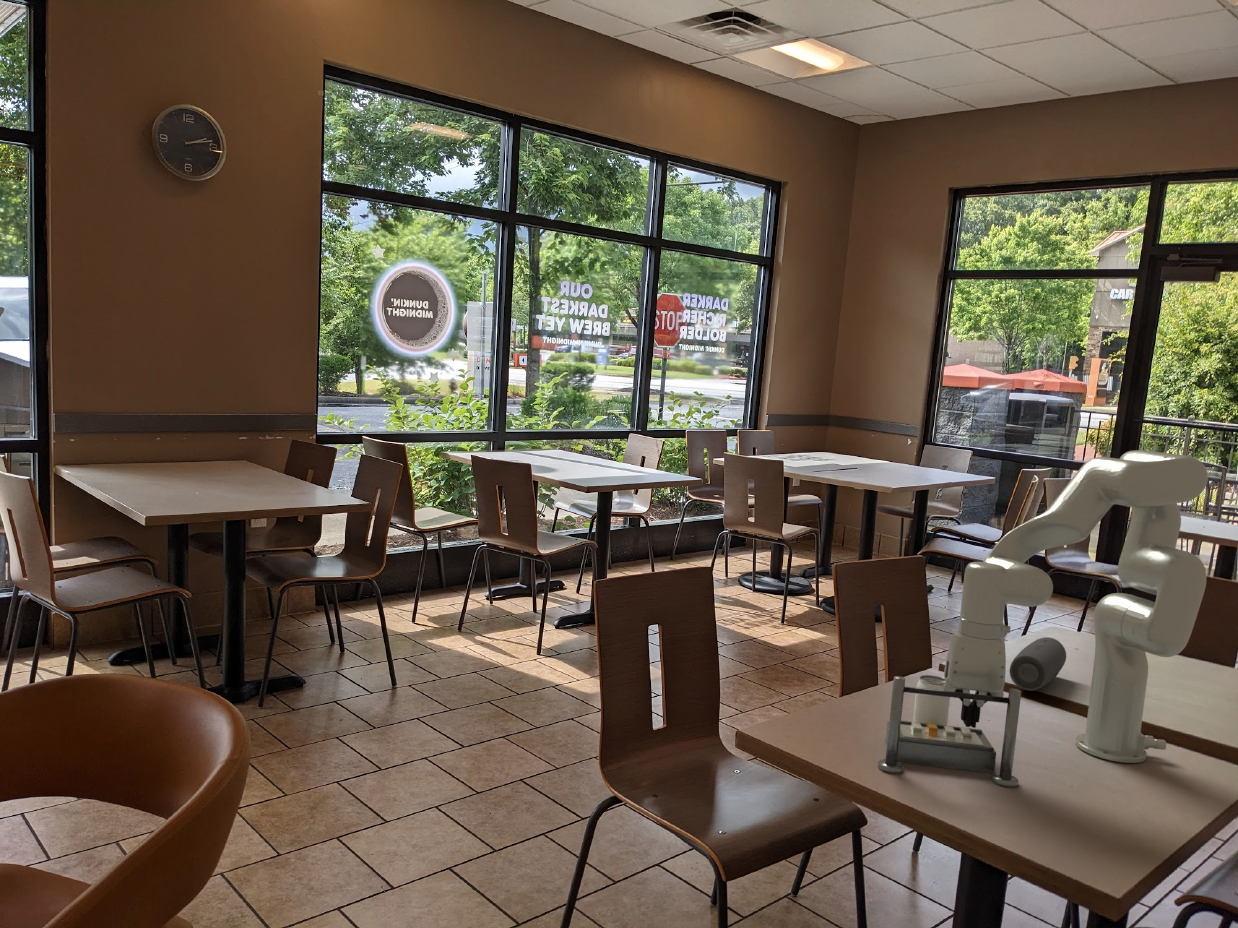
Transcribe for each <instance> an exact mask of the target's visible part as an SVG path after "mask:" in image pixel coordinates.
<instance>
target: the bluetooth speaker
mask: <svg viewBox="0 0 1238 928" xmlns="http://www.w3.org/2000/svg"><path fill="white" fill-rule="evenodd" d="M1066 660H1067V651H1066V649H1065V646H1064V645H1063V644H1062V643H1061V642H1060V641H1059V640H1057V639H1056V638H1053V637H1048V636H1047V637H1040V638H1038V639H1036V640H1034V641H1033V642H1031V643H1030V644H1029V643H1028V644H1027V645H1026V646H1025V647H1023V648H1022V650H1021V651H1020V652H1019V653H1017V655H1015V657H1014V658H1013V660H1012V661H1011V663H1010V667H1009V676H1010V679H1011V681H1012V682H1013V684H1014V685H1016V686H1017V687H1018V688H1020V689H1022V690H1025V691H1030V692H1031V691H1032V692H1033V691H1038V690H1037V689H1039V690H1041V689H1042V688H1043V687H1045V686H1046V685H1048V684H1049V683H1050V682H1052V681H1053V680H1054V679H1055V678H1056V677H1057V676H1058V675H1059V673H1060V672H1061V670H1062V669H1063V667H1064V666H1065V663H1066ZM1040 688H1041V689H1040Z"/></svg>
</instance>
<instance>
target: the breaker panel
mask: <svg viewBox="0 0 1238 928" xmlns="http://www.w3.org/2000/svg"><path fill="white" fill-rule="evenodd" d="M885 729H886V731H885V740H884V741H886V742H885V744H886V746H887V740H888V730H889V721H886V728H885ZM996 758H997V751H996V750H995V748H994V747H993V745H992V743H990V741H989V739H988V738H987V736H986V735H985V733H984V732H983V730H982V729H979V728H972V727H963V726H962V727H961V726H951V725H947V726H944V725H936V724H935V723H930V722H926V723H918V722H913V721H907V720H901V726H900V736H899V746H898V755H897V762H899V763H900V762H902V763H903V764H910V765H920V766H927V767H935V768H942V767H943V769H952V770H959V771H970V772H976V773H978V772H979V773H987V774H994V773H995V768H996V767H995V766H996ZM902 763H901V764H902Z"/></svg>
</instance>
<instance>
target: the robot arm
mask: <svg viewBox="0 0 1238 928" xmlns="http://www.w3.org/2000/svg"><path fill="white" fill-rule="evenodd" d="M1208 480H1209V474H1208V470H1207V468H1206V466H1205V464H1204V463H1203V462H1202V461H1201V460H1199V459H1198V458H1196V457H1194V456H1190V455H1185V454H1177V453H1170V452H1169V453H1168V452H1161V451H1154V450H1147V449H1146V450H1144V449H1140V450H1139V449H1138V450H1137V449H1136V450H1129V451H1126V452H1125V453H1123V454H1122V455H1121V456H1120V457H1119V458H1117V457H1116V458H1115V457H1107V456H1106V457H1105V456H1098V457H1093V458H1090V459H1089V460H1087V461H1086V462H1085V463H1083V465H1081V467H1080V468H1079V469H1078V471H1076V473H1075V474H1074V475H1073V477H1072V478H1071V479H1070V480H1069V482H1068V483H1067V484H1066V486H1064V488H1063V489H1062V490H1061V492H1060V493H1059V495H1057V497H1056V498H1055V499H1054V500H1053V502H1052V503H1051V505H1050V506H1049V507H1048V508H1047V509H1046V510H1045V511H1044V512H1043V513H1041V514H1039V515H1037V516H1034V517H1032V518H1031V519H1029V520H1027V521H1025V522H1023V523H1022V524H1020V525H1018V526H1016V527H1014V528H1013V529H1012V530H1010V531H1009V532H1007V533H1006V534H1005V535H1004V536H1002V537H1001V539H999V541H997V543H996V544H995V545H994V546H993V547H992V549H991V550H990V551H989V553H988V554H987V555H986V557H985V558H984V560H983V561H972V562H969V563H968V564H967V565H966V567H965V569H964V576H963V577H964V578H963V587H962V593H961V594H962V596H961V605H960V615H959V621H958V630H957V631H953V633H952V635H951V638H950V642H949V646H948V651H947V655H946V659H945V664H944V670H943V673H944V674H943V675H944V676H943V678H945V679H946V680H945V682H944V685H943V689H944V690H945V691H951V692H960V693H969V694H971V692H970V691H974V694H979V695H988V696H997V697H1005V696H1004V688H1005V682H1006V674H1007V673H1006V671H1007V670H1006V668H1007V667H1006V665H1007V664H1006V663H1007V659H1006V658H1007V656H1006V655H1007V654H1006V642H1005V639H1004V638H1003V636H1004V634H1010V633H1011V626H1010V625H1006V624H1005V623H1004V617H1005V610H1006V609H1005V607H1006V605H1008V604H1009V605H1013V606H1014V605H1016V606H1021V607H1028V608H1030V607H1031V608H1033V607H1038V606H1041V605H1043V604H1045V603H1046V602H1047V601H1049V599H1050V598H1051V596H1052V594H1053V591H1054V584H1053V580H1052V579H1051V576H1049V574H1048V573H1047V572H1045V571H1044V570H1043V569H1041V568H1039V567H1036V566H1033V565H1031V564H1028V563H1026V561H1029V559H1030V558H1032V557H1033V556H1035V555H1037V554H1038V553H1040V552H1043V551H1045V550H1049V549H1053V548H1059V547H1063V546H1069V545H1073V544H1076V543H1080V542H1082V541H1084V540H1086V539H1087V538H1088V537H1089V535H1090V534H1091V532H1092V531H1093V530H1094V529H1095V528H1096V527H1097V525H1098V524H1099V522H1100V521H1101V520H1102V519H1103V517H1104V516H1105V515H1106V514H1107V512H1109V510H1110V509H1111V507H1113V506H1114V505H1119V506H1124V507H1129V508H1131V518H1130V519H1131V520H1130V522H1129V528H1128V531H1127V534H1126V537H1125V541H1124V544H1123V547H1122V550H1121V554H1120V557H1119V560H1118V565H1117V576H1118V578H1119V580H1120V581H1121V582H1122V583H1123V584H1125V585H1126V586H1128V587H1130V588H1133V589H1136V590H1139V591H1141V592H1145V593H1147V594H1151V595H1155V596H1156V598H1155V601H1152V600H1149V599H1146V598H1143V597H1139V596H1136V595H1134V594H1128V593H1123V592H1115V593H1110V594H1109V593H1108V594H1107V595H1105V596H1104V597H1102V598H1101V599H1100V600H1099V601H1098V602H1097V604H1096V605H1095V609H1094V612H1093V627H1094V636H1095V637H1094V639H1095V640H1094V641H1095V648H1094V649H1095V650H1094V661H1093V668H1092V676H1091V677H1092V678H1091V685H1090V693H1089V701H1088V709H1087V717H1086V726H1085V727H1086V728H1085V732H1084V733H1081V734H1078V735H1077V736H1076V737H1075V745H1076V746H1077V747H1078V748H1079V749H1080V750H1081V751H1083V752H1084V753H1087V754H1089V755H1092V756H1094V757H1097V758H1100V759H1104V760H1107V761H1110V762H1111V761H1112V762H1117V763H1126V764H1138V763H1142V762H1144V761H1146V760H1147V756H1148V753H1147V751H1146V750H1149V749H1154V750H1160V751H1161V750H1162V751H1165V750H1167V749H1166V748H1167V742H1166V740H1165V739H1157V738H1154V736H1153V735H1144V734H1143V733H1142V732H1141V730H1142V724H1143V723H1142V722H1143V716H1144V715H1143V714H1144V707H1145V701H1146V699H1145V698H1146V693H1147V683H1148V677H1149V661H1148V658H1147V654H1146V653H1148V654H1150V655H1153V656H1157V657H1159V658H1171V657H1176V656H1177V655H1178V654H1180V653H1181V652H1182V651H1183V650H1184V649H1185V648H1186V646H1187V644H1188V643H1189V640H1190V637H1191V635H1192V632H1193V629H1194V626H1195V623H1196V620H1197V617H1198V613H1199V610H1200V607H1201V605H1202V604H1201V603H1202V601H1203V597H1204V594H1205V590H1206V586H1207V579H1208V577H1207V570H1206V568H1205V564H1204V563H1203V561H1202V560H1201V558H1200V557H1198V556H1197V555H1195V554H1194V553H1191V552H1189V551H1187V550H1183V549H1179V548H1177V543H1178V539H1179V534H1180V530H1181V526H1182V517H1181V516H1182V515H1181V511H1180V507H1179V505H1178V504H1181V503H1186V502H1190V501H1192V500H1194V499H1195V498H1198V497H1199V496H1200V495H1201V494H1202V493H1203V492H1204V491H1205V488H1206V486H1207V485H1208ZM958 699H959V700H960V701H961V709H960V710H961V711H960V720H961V721H962V722H963V723H964V725H965V728H971V729H977V728H976V726H977V723H979V722H980V717H981V708H983V707H984V705H985V704H986V703H988V701H981V700H972V699H963V698H958Z"/></svg>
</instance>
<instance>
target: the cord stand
mask: <svg viewBox="0 0 1238 928" xmlns="http://www.w3.org/2000/svg"><path fill="white" fill-rule="evenodd" d="M892 681H893V682H892V691H891V692H892V693H891V699H890V700H891V702H890V710H889V721H888V722H889V730H888V740H887V745H886V752H885V759H880V760H878V762H877V768H878V769H879V770H880V771H882V772H884V773H886V774H887V773H888V774H893V775H899V774H902V773H904V764H902V763H900V762H897V755H898V746H899V736H900V726H901V721H902V716H903V713H902V712H903V706H904V705H903V704H904V695H905V693H910V694H916V693H917V694H926V695H935V696H944V697H950V698H953V699H954V698H956V699H959V698H963V699H970V700H971V701H972V700H981V701H987V702H990V703H998V704H999V703H1003V704H1007V706H1006V715H1005V723H1004V733H1003V741H1002V747H1001V748H1002V750H1001V759H1000V768H999V772H994V774H993V773H991V781H992V783H994V784H995V785H997V786H1000V787H1003V788H1008V789H1009V788H1011V789H1014V788H1017V787H1019V779H1018V778H1017V777H1016V776H1014V775H1013V766H1014V759H1015V758H1014V757H1015V749H1016V741H1017V732H1018V722H1019V716H1020V715H1019V714H1020V709H1021V708H1020V706H1021V697H1022V690H1020V689H1017V688H1014V687H1013V688H1008V696H1007V697H1005V696H1003V697H997V696H988V695H979V694H975V693H970V694H969V693H960V692H951V691H942V690H933V689H923V688H916V687H912V686H905V684H906V678H905V677H903V676H902V675H901V676H900V675H895V676H893V680H892Z"/></svg>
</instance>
